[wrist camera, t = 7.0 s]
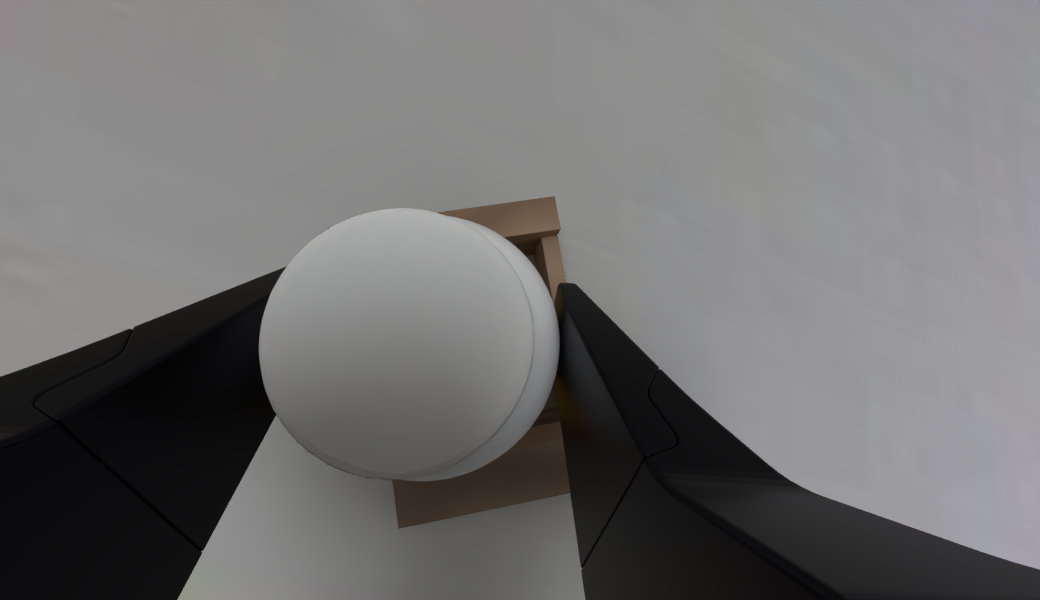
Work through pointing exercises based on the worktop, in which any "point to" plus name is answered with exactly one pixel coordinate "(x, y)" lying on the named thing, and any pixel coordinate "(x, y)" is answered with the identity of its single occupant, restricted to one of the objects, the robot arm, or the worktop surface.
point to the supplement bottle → (409, 345)
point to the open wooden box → (540, 451)
